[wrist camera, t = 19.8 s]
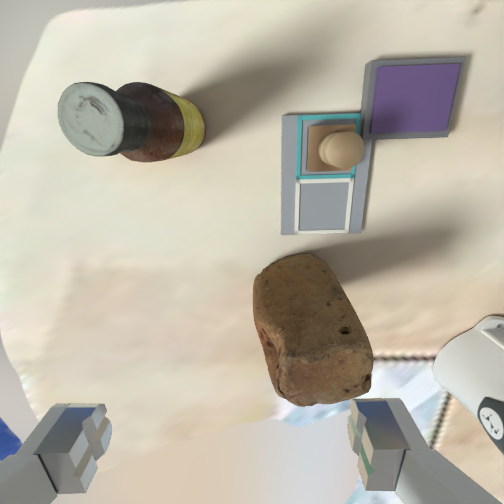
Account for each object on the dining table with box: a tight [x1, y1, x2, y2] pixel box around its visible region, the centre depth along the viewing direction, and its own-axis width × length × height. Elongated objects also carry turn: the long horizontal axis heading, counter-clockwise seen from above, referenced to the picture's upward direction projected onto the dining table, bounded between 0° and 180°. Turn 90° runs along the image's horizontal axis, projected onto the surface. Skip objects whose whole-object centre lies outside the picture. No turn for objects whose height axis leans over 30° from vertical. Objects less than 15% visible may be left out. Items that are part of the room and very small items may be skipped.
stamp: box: [306, 124, 365, 172], centre depth 31 cm, size 5×5×8 cm
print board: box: [281, 113, 372, 235], centre depth 36 cm, size 11×15×1 cm
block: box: [253, 254, 374, 407], centre depth 33 cm, size 11×8×20 cm
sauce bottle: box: [58, 82, 205, 162], centre depth 25 cm, size 6×6×20 cm
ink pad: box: [360, 57, 465, 140], centre depth 32 cm, size 10×8×2 cm
